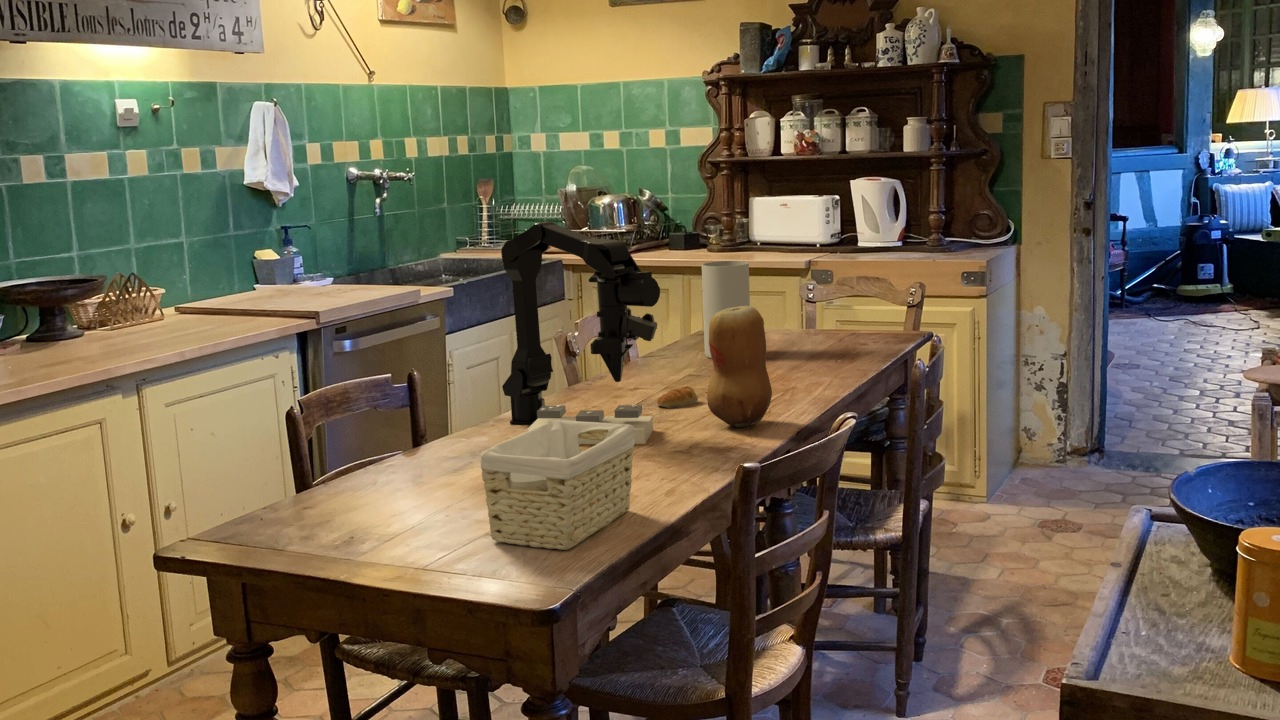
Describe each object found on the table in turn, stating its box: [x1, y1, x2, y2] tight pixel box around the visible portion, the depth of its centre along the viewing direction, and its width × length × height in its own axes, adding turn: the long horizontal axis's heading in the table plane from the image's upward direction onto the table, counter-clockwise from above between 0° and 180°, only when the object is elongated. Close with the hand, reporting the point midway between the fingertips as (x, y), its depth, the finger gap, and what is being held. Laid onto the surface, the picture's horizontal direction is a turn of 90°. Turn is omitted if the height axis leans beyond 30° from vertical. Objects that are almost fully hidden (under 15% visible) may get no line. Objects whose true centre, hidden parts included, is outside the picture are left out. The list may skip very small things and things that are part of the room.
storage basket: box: [480, 420, 635, 551], centre depth 193 cm, size 24×16×15 cm
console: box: [526, 415, 654, 445], centre depth 249 cm, size 24×11×3 cm, turn 80°
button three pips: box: [537, 404, 567, 418], centre depth 249 cm, size 5×5×2 cm
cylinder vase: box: [701, 260, 751, 360], centre depth 326 cm, size 12×12×25 cm
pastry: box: [656, 385, 699, 409], centre depth 275 cm, size 9×7×4 cm
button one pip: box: [575, 409, 605, 423], centre depth 248 cm, size 5×5×2 cm
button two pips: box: [614, 404, 643, 418], centre depth 247 cm, size 5×5×2 cm
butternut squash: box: [706, 305, 773, 428], centre depth 250 cm, size 14×13×25 cm
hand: (618, 381), depth 245 cm, fingers closed
